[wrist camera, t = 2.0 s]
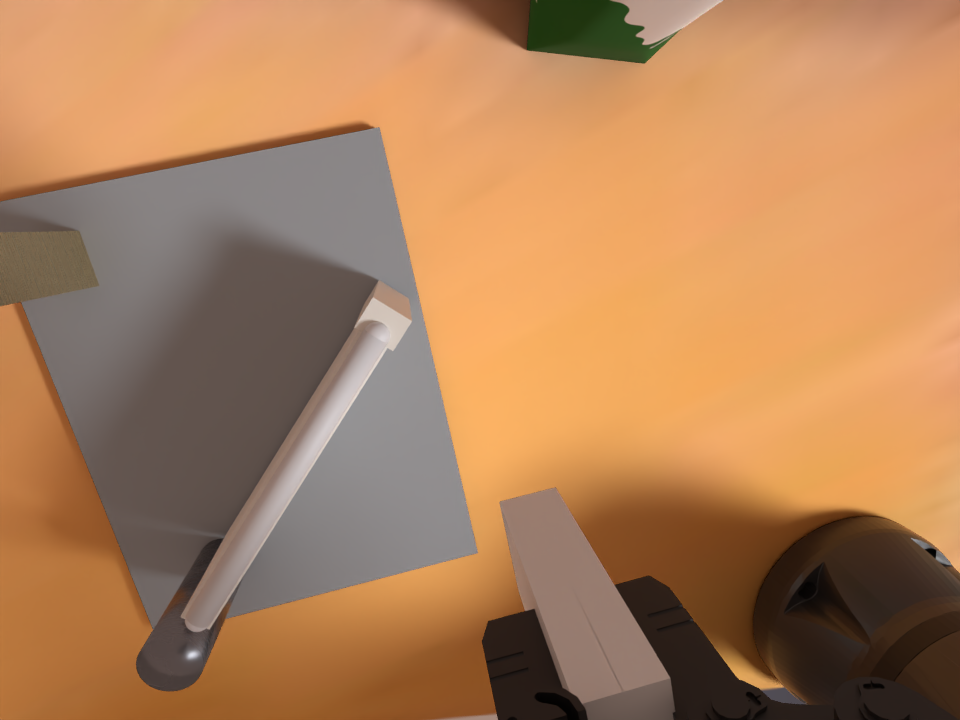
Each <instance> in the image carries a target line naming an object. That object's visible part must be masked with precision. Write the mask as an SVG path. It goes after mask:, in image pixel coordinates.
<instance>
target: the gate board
mask: <svg viewBox="0 0 960 720" xmlns="http://www.w3.org/2000/svg"><path fill="white" fill-rule="evenodd" d="M51 231H80V234H81V237H82V239H83V242H84V245H85V247H86V250H87V253H88V256H89V258H90V261H91V264H92V267H93V269H94V272H95V275H96V277H97V280H98V283H99V286H96V287H92V288H87V289H82V290H77V291H73V292H68V293H63V294H58V295H54V296H49V297H44V298H39V299H34V300H29V301H24V302H21V303H22V306H23V308H24V311H25V313H26V316H27V318H28V321H29V323H30V326H31V328H32V330H33V333H34V335H35V338H36V340H37V343H38V345H39V348H40V350H41V353H42V355H43V358H44V360H45V363H46V365H47V368H48V370H49V373H50V375H51V378H52V380H53V383H54V385H55V388H56V390H57V393H58V395H59V397H60V400H61V402H62V405H63V407H64V410H65V412H66V415H67V417H68V420H69V422H70V425H71V427H72V430H73V432H74V435H75V437H76V440H77V442H78V445H79V447H80V450H81V452H82V455H83V457H84V459H85V462H86V464H87V467H88V469H89V472H90V474H91V477H92V479H93V482H94V484H95V487H96V489H97V492H98V494H99V497H100V499H101V502H102V504H103V507H104V509H105V512H106V514H107V517H108V519H109V522H110V524H111V526H112V529H113V531H114V534H115V536H116V539H117V541H118V544H119V546H120V549H121V551H122V554H123V556H124V559H125V561H126V564H127V566H128V569H129V571H130V574H131V576H132V579H133V581H134V584H135V586H136V589H137V591H138V593H139V596H140V598H141V601H142V603H143V606H144V608H145V611H146V613H147V616H148V618H149V621H150V623H151V626H152V628H153V629H154V628H155V626H156V624H157V623H158V621H159V619H160V618H161V616H162V614H163V613H164V611H165V610H166V608H167V606H168V605H169V603H170V601H171V600H172V598H173V596H174V595H175V593H176V591H177V590H178V588H179V586H180V585H181V583H182V581H183V580H184V578H185V576H186V575H187V573H188V571H189V570H190V568H191V567H192V565H193V563H194V562H195V560H196V558H197V557H198V555H199V553H200V552H201V550H202V549H203V547H204V546H205V545H206V544H208V543H209V542H211V541H213V540H216V539H224V537H225V535H226V534H227V532H228V530H229V529H230V527H231V526H232V524H233V522H234V521H235V519H236V517H237V516H238V514H239V513H240V511H241V509H242V508H243V506H244V505H245V503H246V501H247V500H248V498H249V497H250V495H251V493H252V492H253V490H254V489H255V487H256V485H257V484H258V482H259V481H260V479H261V477H262V476H263V474H264V472H265V471H266V469H267V468H268V466H269V464H270V463H271V461H272V460H273V458H274V456H275V455H276V453H277V452H278V450H279V448H280V447H281V445H282V444H283V442H284V440H285V439H286V437H287V435H288V434H289V432H290V431H291V429H292V427H293V426H294V424H295V423H296V421H297V419H298V418H299V416H300V415H301V413H302V411H303V410H304V408H305V407H306V405H307V403H308V402H309V400H310V398H311V397H312V395H313V394H314V392H315V390H316V389H317V387H318V386H319V384H320V382H321V381H322V379H323V378H324V376H325V374H326V373H327V371H328V370H329V368H330V366H331V365H332V363H333V361H334V360H335V358H336V357H337V355H338V353H339V352H340V350H341V349H342V347H343V345H344V344H345V342H346V341H347V339H348V337H349V336H350V334H351V333H352V331H353V329H354V327H355V324H356V322H357V320H358V317H359V315H360V313H361V310H362V308H363V306H364V303H365V302H366V300H367V298H368V297H369V295H370V294H371V292H372V290H373V289H374V287H375V286H376V284H377V282H378V281H379V280H380V281H382V282H383V283H385V284H386V285H388V286H390V287H391V288H393V289H394V290H396V291H398V292H399V293H401V294H402V295H404V296H406V297H407V298H409V303H410V310H411V317H412V322H411V324H410V326H409V327H408V329H407V330H406V332H405V333H404V335H403V337H402V338H401V340H400V341H399V343H398V344H397V346H396V348H395V349H394V351H392V350H390V349H388V348H387V350H386V351H385V353H384V354H383V356H382V358H381V359H380V361H379V362H378V364H377V366H376V367H375V369H374V370H373V372H372V373H371V375H370V377H369V378H368V380H367V381H366V383H365V385H364V386H363V388H362V389H361V391H360V392H359V394H358V396H357V397H356V399H355V400H354V402H353V404H352V405H351V407H350V408H349V410H348V411H347V413H346V415H345V416H344V418H343V419H342V421H341V422H340V424H339V426H338V427H337V429H336V430H335V432H334V434H333V435H332V437H331V438H330V440H329V441H328V443H327V445H326V446H325V448H324V449H323V451H322V453H321V454H320V456H319V457H318V459H317V460H316V462H315V464H314V465H313V467H312V468H311V470H310V471H309V473H308V475H307V476H306V478H305V479H304V481H303V483H302V484H301V486H300V487H299V489H298V490H297V492H296V494H295V495H294V497H293V498H292V500H291V502H290V503H289V505H288V506H287V508H286V509H285V511H284V513H283V514H282V516H281V517H280V519H279V520H278V522H277V524H276V525H275V527H274V528H273V530H272V532H271V533H270V535H269V536H268V538H267V539H266V541H265V543H264V544H263V546H262V547H261V549H260V551H259V552H258V554H257V555H256V557H255V558H254V560H253V562H252V563H251V565H250V566H249V568H248V570H247V571H246V573H245V575H244V577H243V580H242V582H241V584H240V586H239V589H238V591H237V593H236V596H235V598H234V600H233V602H232V605H231V607H230V609H229V612H228V614H227V616H226V618H225V619H227V618H231V617H235V616H238V615H242V614H246V613H250V612H254V611H258V610H261V609H265V608H269V607H273V606H277V605H281V604H284V603H288V602H292V601H296V600H300V599H304V598H307V597H311V596H315V595H319V594H323V593H327V592H330V591H334V590H338V589H342V588H346V587H349V586H353V585H357V584H361V583H365V582H369V581H372V580H376V579H380V578H384V577H388V576H392V575H395V574H399V573H403V572H407V571H411V570H415V569H418V568H422V567H426V566H430V565H434V564H437V563H441V562H445V561H449V560H453V559H457V558H460V557H464V556H468V555H472V554H476V553H478V551H477V547H476V543H475V538H474V534H473V530H472V525H471V521H470V517H469V512H468V508H467V504H466V499H465V495H464V491H463V487H462V482H461V478H460V474H459V469H458V465H457V461H456V456H455V452H454V448H453V443H452V439H451V435H450V430H449V426H448V422H447V417H446V413H445V409H444V404H443V400H442V396H441V391H440V387H439V383H438V378H437V374H436V370H435V365H434V361H433V357H432V353H431V348H430V344H429V340H428V335H427V331H426V327H425V322H424V318H423V314H422V309H421V305H420V301H419V296H418V292H417V288H416V283H415V279H414V275H413V270H412V266H411V262H410V257H409V253H408V249H407V244H406V240H405V236H404V232H403V227H402V223H401V219H400V214H399V210H398V206H397V201H396V197H395V193H394V188H393V184H392V180H391V175H390V171H389V167H388V162H387V158H386V154H385V149H384V145H383V141H382V136H381V132H380V128H379V127H378V128H373V129H368V130H363V131H358V132H353V133H348V134H342V135H337V136H332V137H327V138H322V139H317V140H312V141H307V142H302V143H297V144H291V145H286V146H281V147H276V148H271V149H266V150H261V151H256V152H251V153H246V154H240V155H235V156H230V157H225V158H220V159H215V160H210V161H205V162H200V163H195V164H189V165H184V166H179V167H174V168H169V169H164V170H159V171H154V172H149V173H143V174H138V175H133V176H128V177H123V178H118V179H113V180H108V181H103V182H98V183H92V184H87V185H82V186H77V187H72V188H67V189H62V190H57V191H52V192H47V193H41V194H36V195H31V196H26V197H21V198H16V199H11V200H6V201H1V202H0V232H51Z"/></svg>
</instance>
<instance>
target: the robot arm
mask: <svg viewBox="0 0 960 720" xmlns="http://www.w3.org/2000/svg"><path fill="white" fill-rule="evenodd" d="M500 507H501V511H502V516H503V521H504V525H505V530H506V535H507V539H508V544H509V549H510V553H511V558H512V563H513V567H514V572H515V576H516V581H517V586H518V590H519V594H520V597H521V600H522V603H523V606H524V609H525V611H524V612H520V613H517V614H513V615H509V616H506V617H502V618H498V619H495V620H491V621H488V623H487V627H486V630H485V633H484V636H483V640H482V644H483V649H484V653H485V658H486V663H487V668H488V673H489V678H490V683H491V688H492V692H493V697H494V702H495V707H496V712H497V716H498V720H960V573H959V572H958V571H957V570H956V569H955V568H954V567H953V566H952V565H951V563H950V562H949V560H948V559H947V558H946V557H945V556H944V555H943V554H942V553H941V552H940V551H939V550H938V549H937V548H936V547H935V546H934V545H932V544H931V543H930V542H929V541H927V540H926V539H924V538H922V537H921V536H919V535H917V534H916V533H914V532H912V531H911V530H909V529H907V528H906V527H904V526H902V525H900V524H898V523H896V522H894V521H891V520H888V519H884V518H878V517H853V518H847V519H843V520H839V521H836V522H833V523H830V524H827V525H825V526H823V527H821V528H819V529H817V530H815V531H813V532H811V533H810V534H808V535H806V536H805V537H804V538H802V539H801V540H799V541H798V542H797V543H796V544H794V545H793V546H792V547H791V548H790V549H789V550H788V551H787V552H786V553H785V554H784V555H783V556H782V557H781V558H780V559H779V561H778V562H777V563H776V564H775V566H774V567H773V568H772V570H771V571H770V573H769V574H768V576H767V578H766V580H765V582H764V584H763V586H762V588H761V590H760V593H759V595H758V598H757V602H756V606H755V611H754V619H753V631H754V639H755V643H756V646H757V649H758V652H759V654H760V656H761V658H762V660H763V661H764V663H765V664H766V666H767V667H768V668H769V669H770V671H771V672H772V673H773V674H774V675H775V676H776V678H777V679H778V680H779V681H780V682H781V684H782V685H783V686H784V687H785V688H786V689H787V690H788V691H789V692H790V693H791V694H792V695H794V696H795V697H796V698H797V699H799V700H800V701H802V702H804V703H806V704H805V705H803V704H801V705H800V704H788V703H781V702H778V701H774V700H771V699H770V698H769V697H767V696H766V695H765V694H764V693H763V692H762V691H761V690H760V689H759V688H757V687H755V686H753V685H751V684H748V683H746V682H744V681H742V680H739V679H738V678H737V677H736V676H735V675H734V673H733V672H732V671H731V669H730V668H729V667H728V665H727V664H726V663H725V661H724V660H723V659H722V657H721V656H720V655H719V653H718V652H717V651H716V649H715V648H714V647H713V645H712V644H711V643H710V641H709V640H708V639H707V637H706V636H705V635H704V633H703V632H702V631H701V629H700V628H699V627H698V625H697V624H696V623H694V621H693V619H692V617H691V616H690V615H689V613H688V612H687V611H686V609H685V608H683V606H682V604H681V603H680V601H679V600H678V599H677V597H676V596H675V595H674V593H673V592H672V591H671V589H670V588H669V587H667V586H666V585H664V584H662V583H661V582H659V581H657V580H656V579H654V578H652V577H651V576H646V577H642V578H638V579H635V580H631V581H627V582H624V583H620V584H616V585H614V584H613V582H612V580H611V579H610V577H609V575H608V574H607V572H606V570H605V569H604V567H603V565H602V564H601V562H600V560H599V559H598V557H597V555H596V554H595V552H594V550H593V549H592V547H591V545H590V544H589V542H588V540H587V539H586V537H585V535H584V534H583V532H582V530H581V529H580V527H579V525H578V524H577V522H576V520H575V519H574V517H573V515H572V514H571V512H570V510H569V509H568V507H567V505H566V504H565V502H564V501H563V499H562V497H561V496H560V494H559V492H558V491H557V489H556V487H555V488H551V489H547V490H543V491H539V492H536V493H532V494H528V495H524V496H520V497H516V498H512V499H508V500H504V501H500ZM807 704H808V705H807Z"/></svg>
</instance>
